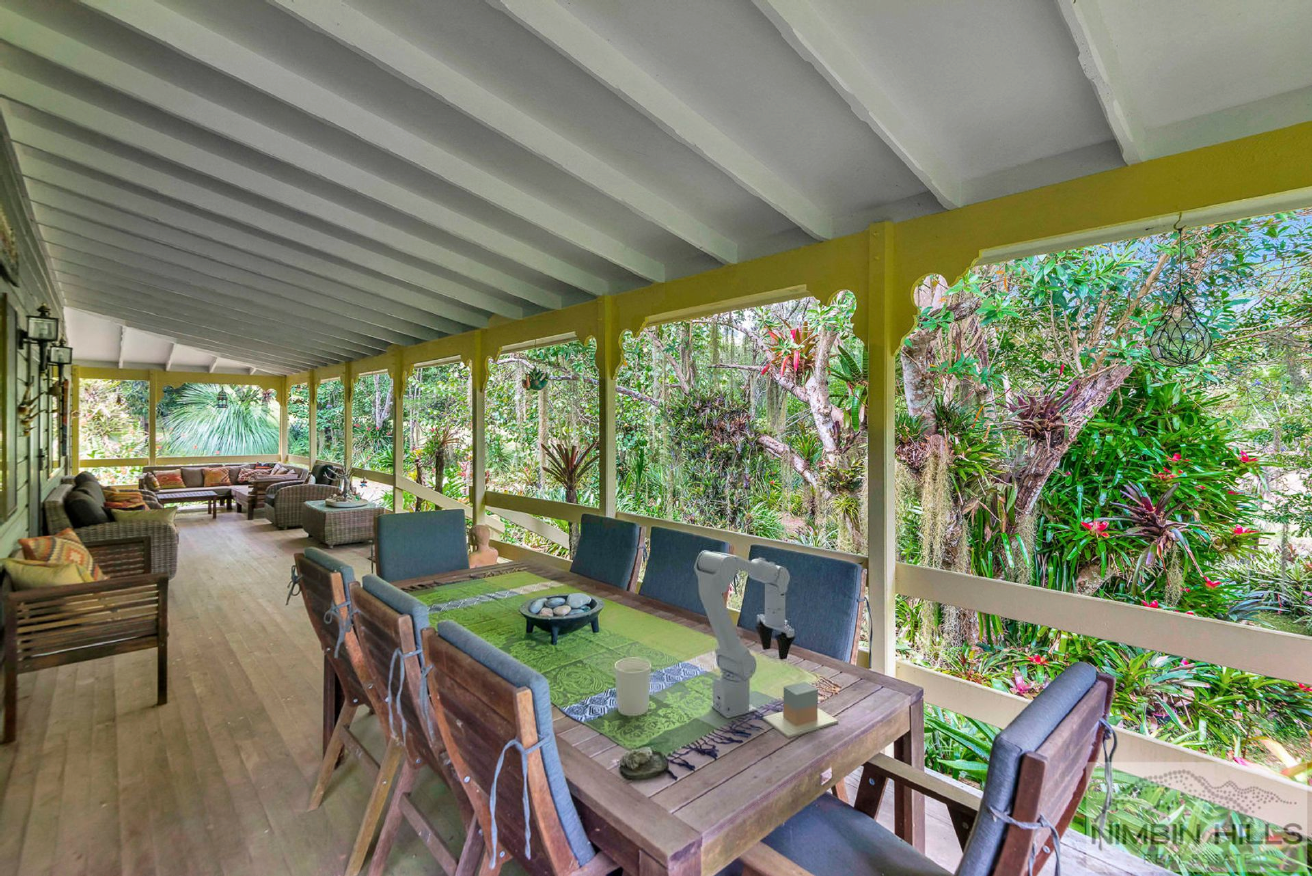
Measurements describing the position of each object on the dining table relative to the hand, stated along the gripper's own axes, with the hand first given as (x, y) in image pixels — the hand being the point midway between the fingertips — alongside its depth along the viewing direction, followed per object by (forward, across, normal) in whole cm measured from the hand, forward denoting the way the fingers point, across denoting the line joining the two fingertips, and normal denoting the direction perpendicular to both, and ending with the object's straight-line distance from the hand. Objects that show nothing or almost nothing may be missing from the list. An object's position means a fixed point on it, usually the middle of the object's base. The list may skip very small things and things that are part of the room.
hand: (774, 653), depth 166 cm
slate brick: (+6, -17, +5) cm, 19 cm away
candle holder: (+11, +8, +41) cm, 43 cm away
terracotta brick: (+10, -17, +5) cm, 20 cm away
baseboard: (+10, -17, +5) cm, 21 cm away
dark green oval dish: (+11, -17, +49) cm, 53 cm away
